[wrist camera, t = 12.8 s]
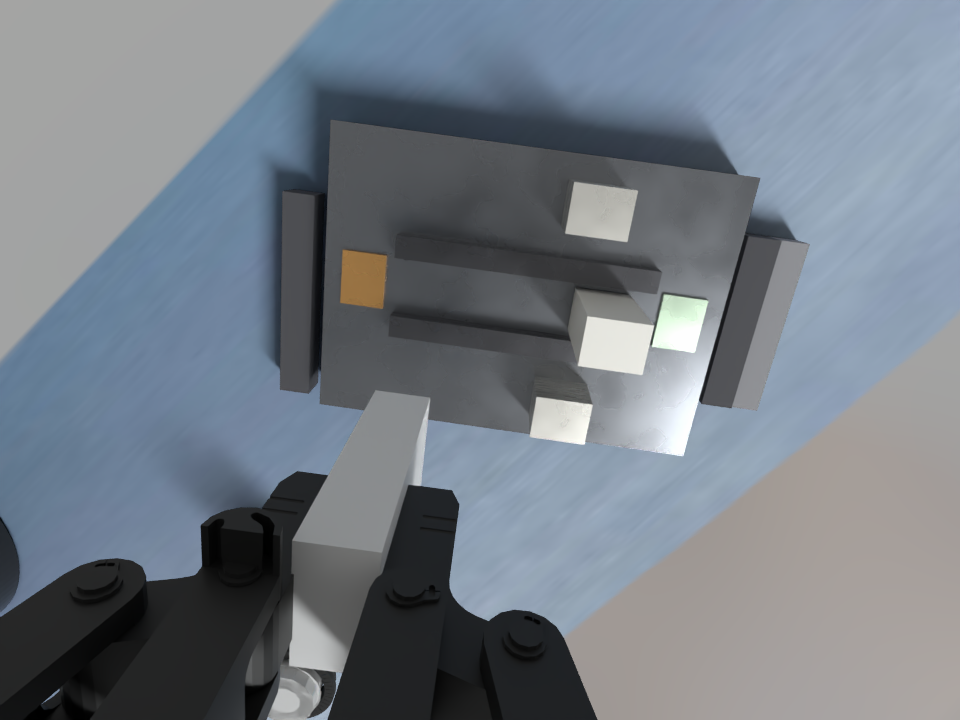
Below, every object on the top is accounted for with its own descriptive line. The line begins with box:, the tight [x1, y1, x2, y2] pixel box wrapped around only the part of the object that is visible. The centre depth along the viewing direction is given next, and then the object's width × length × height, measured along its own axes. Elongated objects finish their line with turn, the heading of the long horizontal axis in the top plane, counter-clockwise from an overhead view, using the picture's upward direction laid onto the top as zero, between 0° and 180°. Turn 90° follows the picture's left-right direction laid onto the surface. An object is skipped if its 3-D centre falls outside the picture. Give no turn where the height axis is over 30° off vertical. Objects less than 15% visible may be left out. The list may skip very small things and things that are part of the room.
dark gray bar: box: [280, 189, 325, 394], centre depth 35 cm, size 2×12×2 cm, turn 173°
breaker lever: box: [568, 287, 654, 375], centre depth 29 cm, size 3×2×6 cm
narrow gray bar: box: [699, 233, 810, 411], centre depth 34 cm, size 3×10×2 cm, turn 173°
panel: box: [320, 120, 760, 456], centre depth 32 cm, size 22×16×6 cm
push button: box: [268, 645, 336, 720], centre depth 39 cm, size 7×5×10 cm
